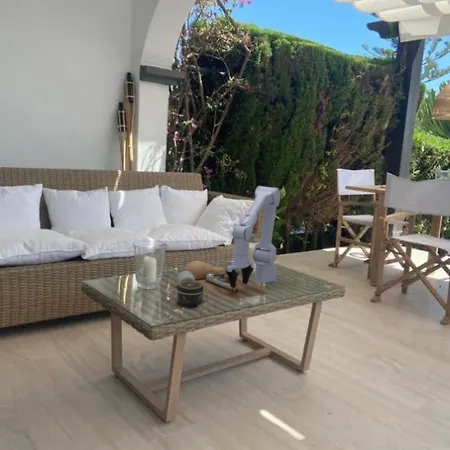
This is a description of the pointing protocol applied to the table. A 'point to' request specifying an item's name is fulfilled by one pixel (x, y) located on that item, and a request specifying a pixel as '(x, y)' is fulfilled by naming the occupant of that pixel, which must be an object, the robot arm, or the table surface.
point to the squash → (202, 269)
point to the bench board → (244, 289)
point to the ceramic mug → (185, 277)
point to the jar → (190, 294)
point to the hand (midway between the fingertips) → (239, 285)
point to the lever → (221, 282)
